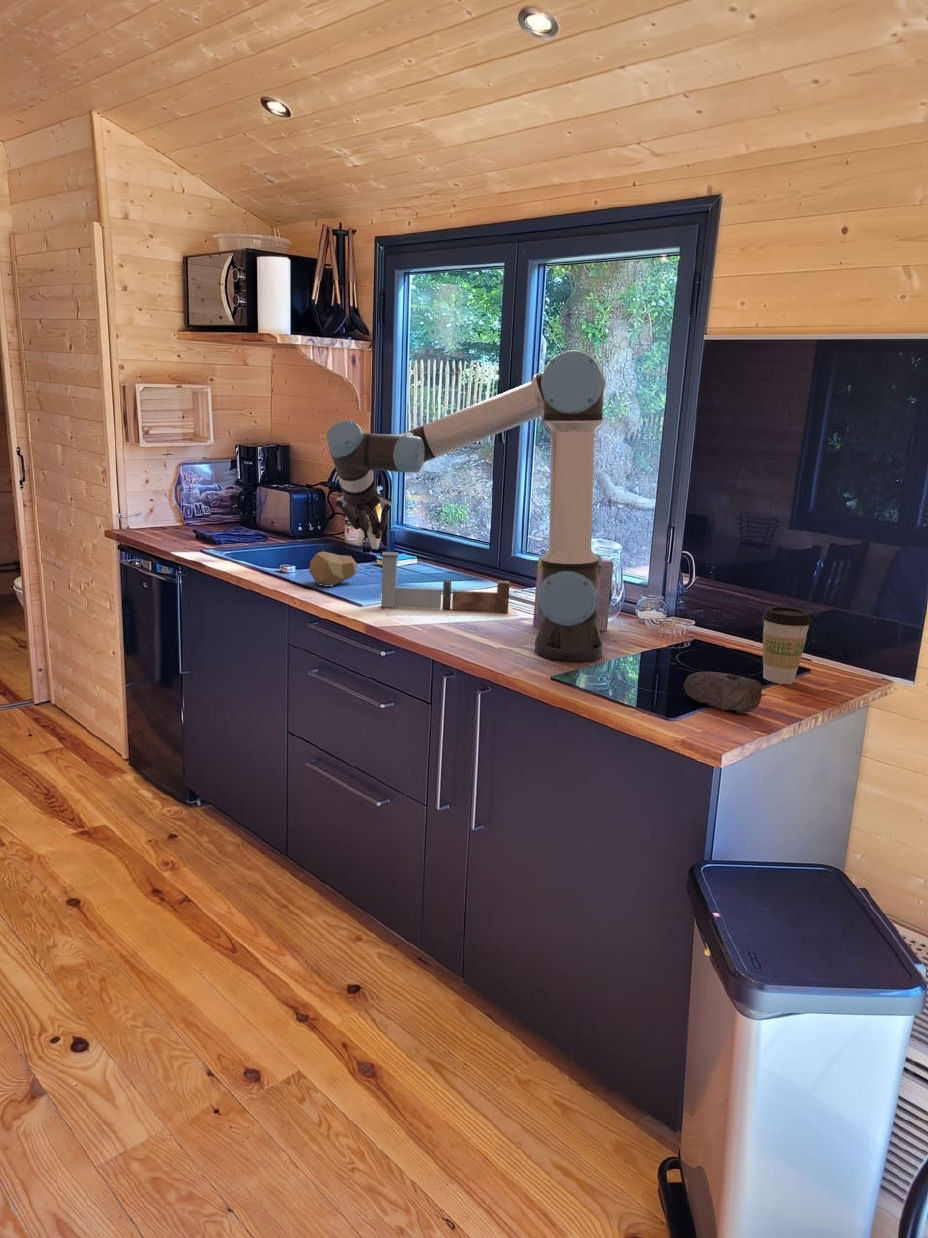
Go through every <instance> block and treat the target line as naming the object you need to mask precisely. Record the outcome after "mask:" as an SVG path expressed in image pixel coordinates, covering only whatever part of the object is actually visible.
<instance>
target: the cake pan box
mask: <svg viewBox="0 0 928 1238" xmlns="http://www.w3.org/2000/svg"><path fill="white" fill-rule="evenodd" d="M537 561H538V563H537V574H536V584H535V585H536V586H535V595H534V606H533V607H534V609H533V617H532V618H533V620H532V626H534V627H535V629H536V630H537V629H539V630H540V628H541V625H542V623H543V620H544V618H545V614H544V613H543V611H542V609H541V607H540V604H539V599H538V593H539V590H540V587H541V565H542V556H540V557H539V556H538V560H537ZM613 574H614V561H611V560H609V559H602V569H601V578H600V590H599V602H598V613H597V624H598V628H599V632H607V631H608V623H609V615H610V613H609V610H610V604H611V603H612V596H613V593H612V592H613V591H612V582H613Z"/></svg>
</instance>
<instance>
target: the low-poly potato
mask: <svg viewBox="0 0 928 1238" xmlns="http://www.w3.org/2000/svg"><path fill="white" fill-rule="evenodd" d="M357 568H358V563H357V562H356V561H355V559H354V558H353V557H352V555H343V554H342V555H341V554H336V553H331V552H327V551H320V552H317V553H315V555H314V556H313V557H312V559H311V560H310V563H309V570H308V572H309V574H310V575H311V577H312V578H313V580H314V582H315V583H316V584H317V585H318V584H322V585H329V586H330V585H334V586H336V585H337V584H339V583H342V582H345V581H346V580H349V579H350V578H353V577H354V576H355V575H356V572H357ZM322 585H321V586H322Z"/></svg>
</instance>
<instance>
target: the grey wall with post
mask: <svg viewBox="0 0 928 1238" xmlns="http://www.w3.org/2000/svg"><path fill="white" fill-rule="evenodd" d="M398 557H399V552H398V551H397V552H396V551H395V552H394V551H393V552H392V551H382V553H381V558H382V562H381V563H382V569H381V572H382V573H381V594H382V600H381V599H380V601H381V608H384V607H392V608H395V607H414V608H436V609H440V608H441V594H442V588H430V587H429V588H428V587H410V586H409V587H408V586H407V587H406V586H397V581H398V580H397V576H398Z"/></svg>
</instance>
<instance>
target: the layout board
mask: <svg viewBox="0 0 928 1238" xmlns="http://www.w3.org/2000/svg"><path fill="white" fill-rule="evenodd" d="M380 594H381V598H380V601H381V600H382V593H380ZM452 598H453V593H451V600H450V610H442V607H443V593H441V608H440V609H436V608H414V607H395V608H392V607H383V609H384V611H385V614H386V616H502V617H503V616H506V617H507V616H509V617H510V616H512V617H513V616H516V617H517V616H520V615H519V614H518V613H517V612H516V611H515V609H513V607H512V606H511V605H510V604H509V603H508V614H503V613H496V612H483V611H461V610H452Z"/></svg>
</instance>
